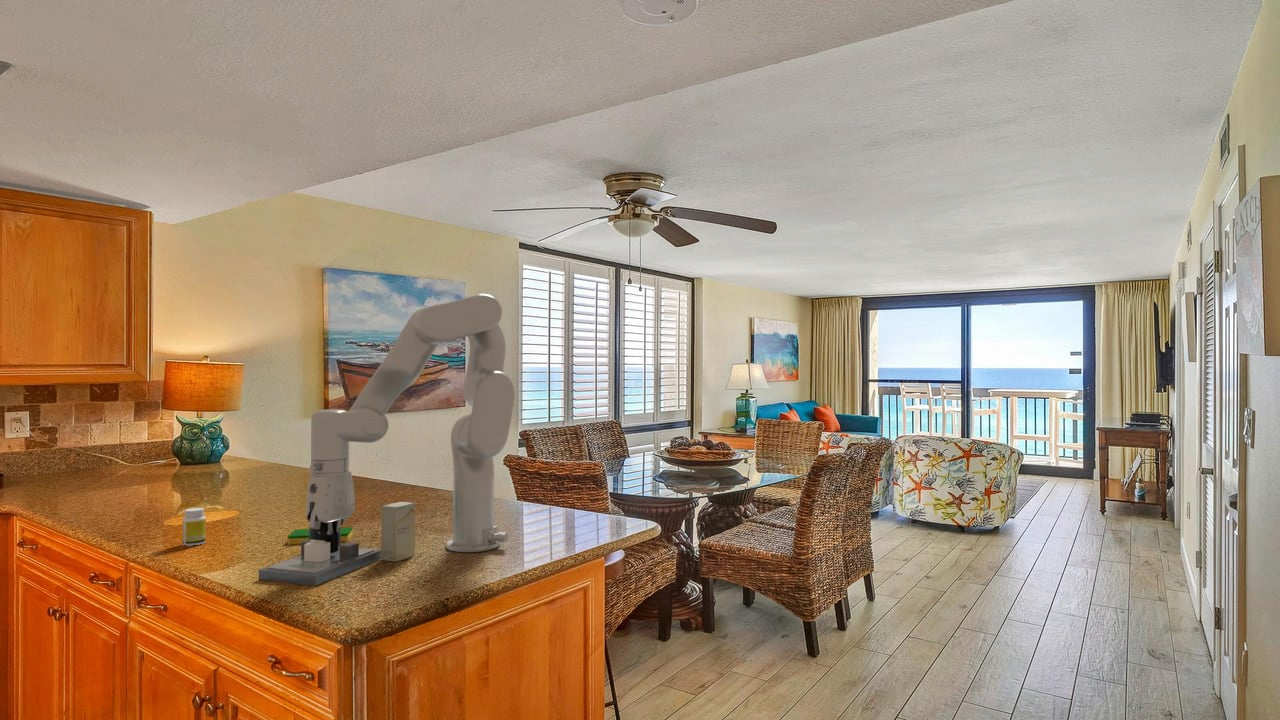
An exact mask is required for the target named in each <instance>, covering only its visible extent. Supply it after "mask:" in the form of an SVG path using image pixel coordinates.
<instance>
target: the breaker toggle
mask: <svg viewBox="0 0 1280 720" xmlns="http://www.w3.org/2000/svg"><path fill="white" fill-rule="evenodd" d="M328 559H330V542H325V541H323V540H310V543H307V544H304V561H309V562H319V563H320V562H323V561H326V560H328Z"/></svg>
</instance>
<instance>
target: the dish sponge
mask: <svg viewBox="0 0 1280 720" xmlns="http://www.w3.org/2000/svg"><path fill="white" fill-rule="evenodd" d="M353 529H354V527H353V526H347V527H346V526H344V527H342V526H341V543H342V542H350V539H351V538H352V537H353V535H354V530H353ZM307 540H309V528H298V529H294V530H293V531H291V532H290V534H288V536H287V545H301V542H303V541H307Z"/></svg>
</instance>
